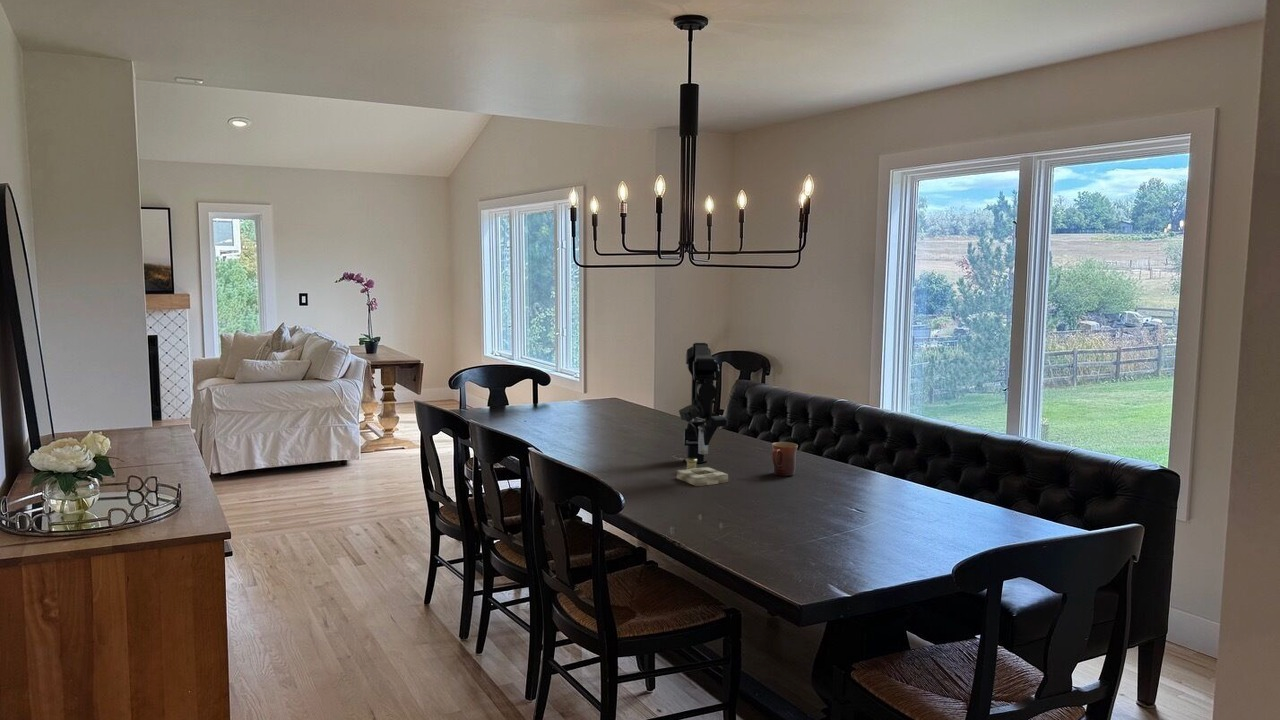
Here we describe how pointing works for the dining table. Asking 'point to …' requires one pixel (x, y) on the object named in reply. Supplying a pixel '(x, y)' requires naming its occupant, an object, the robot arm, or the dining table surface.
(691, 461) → the short pin
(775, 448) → the mug
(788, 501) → the dining table surface
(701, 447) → the long pin
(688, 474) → the socket board
